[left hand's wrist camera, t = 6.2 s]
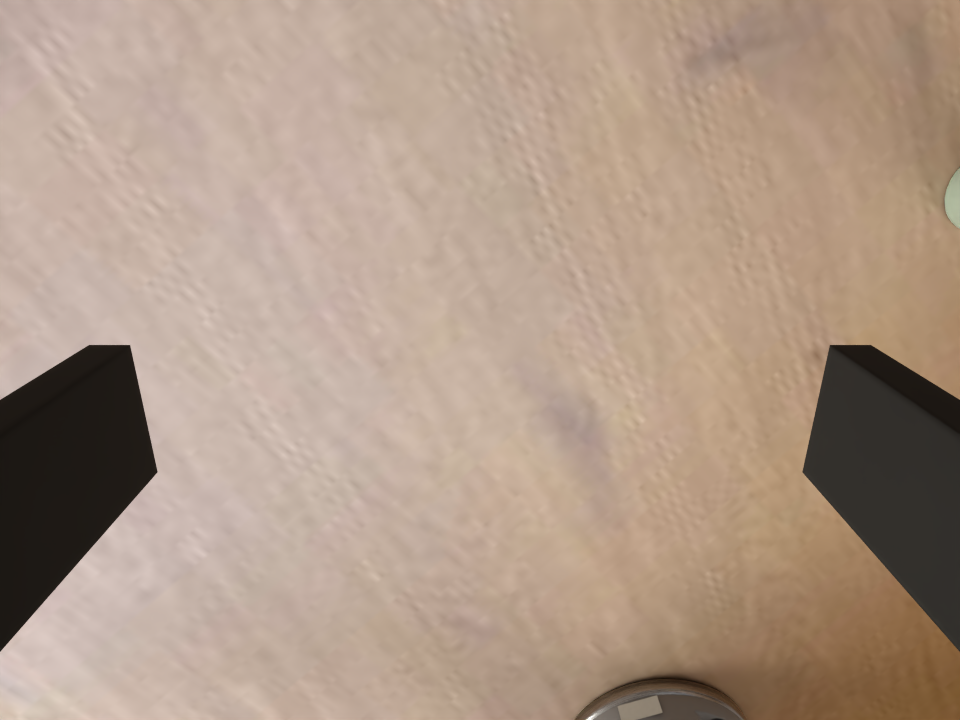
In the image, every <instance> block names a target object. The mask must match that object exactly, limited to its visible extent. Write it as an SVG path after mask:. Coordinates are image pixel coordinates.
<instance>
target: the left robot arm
mask: <svg viewBox="0 0 960 720" xmlns="http://www.w3.org/2000/svg"><path fill="white" fill-rule="evenodd" d="M156 473H157V468H156V463H155V458H154V454H153V449H152V445H151V440H150V435H149V431H148V426H147V422H146V417H145V412H144V408H143V403H142V398H141V394H140V389H139V385H138V380H137V375H136V371H135V366H134V361H133V357H132V352H131V348H130V345H89V346H87V347H85V348H84V349H82V350H80V351H79V352H77V353H76V354H74V355H72V356H71V357H69V358H67V359H66V360H64V361H63V362H61V363H59V364H58V365H56V366H55V367H53V368H51V369H50V370H48V371H46V372H45V373H43V374H42V375H40V376H38V377H37V378H35V379H33V380H32V381H30V382H29V383H27V384H25V385H24V386H22V387H20V388H19V389H17V390H16V391H14V392H12V393H11V394H9V395H8V396H6V397H4V398H3V399H1V400H0V651H1V650H2V649H3V648H4V647H5V646H6V644H7V643H8V642H9V641H10V640H11V639H12V638H13V636H14V635H15V634H16V633H17V632H18V631H19V630H20V628H21V627H22V626H23V625H24V624H25V623H26V622H27V620H28V619H29V618H30V617H31V616H32V615H33V614H34V612H35V611H36V610H37V609H38V608H39V607H40V606H41V604H42V603H43V602H44V601H45V600H46V599H47V598H48V596H49V595H50V594H51V593H52V592H53V591H54V590H55V589H56V587H57V586H58V585H59V584H60V583H61V582H62V581H63V579H64V578H65V577H66V576H67V575H68V574H69V573H70V571H71V570H72V569H73V568H74V567H75V566H76V565H77V563H78V562H79V561H80V560H81V559H82V558H83V557H84V555H85V554H86V553H87V552H88V551H89V550H90V549H91V547H92V546H93V545H94V544H95V543H96V542H97V541H98V539H99V538H100V537H101V536H102V535H103V534H104V533H105V531H106V530H107V529H108V528H109V527H110V526H111V525H112V523H113V522H114V521H115V520H116V519H117V518H118V517H119V515H120V514H121V513H122V512H123V511H124V510H125V509H126V507H127V506H128V505H129V504H130V503H131V502H132V501H133V500H134V498H135V497H136V496H137V495H138V494H139V493H140V492H141V490H142V489H143V488H144V487H145V486H146V485H147V484H148V482H149V481H150V480H151V479H152V478H153V477H154V476H155V474H156ZM803 473H804V474H805V476H806V477H807V478H808V479H809V480H810V481H811V482H812V484H813V485H814V486H815V487H816V488H817V489H818V490H819V492H820V493H821V494H822V495H823V496H824V497H825V498H826V500H827V501H828V502H829V503H830V504H831V505H832V506H833V507H834V509H835V510H836V511H837V512H838V513H839V514H840V515H841V517H842V518H843V519H844V520H845V521H846V522H847V523H848V525H849V526H850V527H851V528H852V529H853V530H854V531H855V533H856V534H857V535H858V536H859V537H860V538H861V539H862V541H863V542H864V543H865V544H866V545H867V546H868V547H869V549H870V550H871V551H872V552H873V553H874V554H875V555H876V557H877V558H878V559H879V560H880V561H881V562H882V563H883V565H884V566H885V567H886V568H887V569H888V570H889V571H890V573H891V574H892V575H893V576H894V577H895V578H896V579H897V581H898V582H899V583H900V584H901V585H902V586H903V587H904V589H905V590H906V591H907V592H908V593H909V594H910V595H911V596H912V598H913V599H914V600H915V601H916V602H917V603H918V604H919V606H920V607H921V608H922V609H923V610H924V611H925V612H926V614H927V615H928V616H929V617H930V618H931V619H932V620H933V622H934V623H935V624H936V625H937V626H938V627H939V628H940V630H941V631H942V632H943V633H944V634H945V635H946V636H947V638H948V639H949V640H950V641H951V642H952V643H953V644H954V646H955V647H956V648H957V649H958V650H959V651H960V400H959V399H957V398H956V397H954V396H952V395H951V394H949V393H948V392H946V391H944V390H943V389H941V388H940V387H938V386H936V385H935V384H933V383H931V382H930V381H928V380H927V379H925V378H923V377H922V376H920V375H918V374H917V373H915V372H914V371H912V370H910V369H909V368H907V367H905V366H904V365H902V364H901V363H899V362H897V361H896V360H894V359H893V358H891V357H889V356H888V355H886V354H884V353H883V352H881V351H880V350H878V349H876V348H875V347H873V346H871V345H830V348H829V352H828V357H827V361H826V366H825V371H824V375H823V380H822V385H821V389H820V394H819V398H818V403H817V408H816V412H815V417H814V422H813V426H812V431H811V435H810V440H809V445H808V449H807V454H806V458H805V463H804V468H803ZM575 720H746V718H745V716H744V714H743V713H742V711H741V710H740V708H739V707H738V706H737V705H736V704H735V703H734V702H733V701H732V700H731V699H730V698H728V697H727V696H726V695H724V694H723V693H721V692H719V691H717V690H715V689H713V688H711V687H709V686H706V685H703V684H700V683H696V682H692V681H686V680H679V679H655V680H646V681H640V682H636V683H632V684H628V685H625V686H622V687H619V688H617V689H614V690H612V691H610V692H608V693H606V694H604V695H602V696H601V697H599V698H597V699H596V700H595V701H593V702H592V703H590V704H589V705H588V706H587V707H586V708H585V709H584V710H583V711H582V712H581V713H580V714H579V715H578V716H577V717H576V719H575Z"/></svg>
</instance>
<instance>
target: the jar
mask: <svg viewBox="0 0 960 720" xmlns="http://www.w3.org/2000/svg"><path fill="white" fill-rule="evenodd" d="M945 210H946V213H947V216H948V218H949V219H950V221H951V222H952V223H953V224H954V225H955V226H956V227H958V228H959V229H960V167H959V169H958V170H957V171H956V172H955V174H954V175H953V177H952V178H951V180H950V182H949V184H948V187H947V190H946V193H945Z"/></svg>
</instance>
